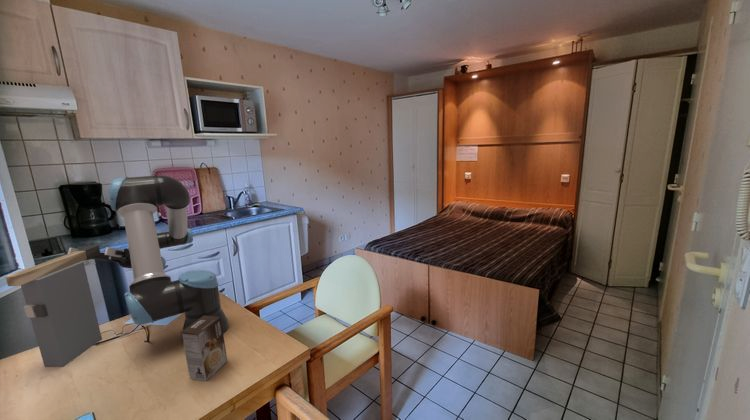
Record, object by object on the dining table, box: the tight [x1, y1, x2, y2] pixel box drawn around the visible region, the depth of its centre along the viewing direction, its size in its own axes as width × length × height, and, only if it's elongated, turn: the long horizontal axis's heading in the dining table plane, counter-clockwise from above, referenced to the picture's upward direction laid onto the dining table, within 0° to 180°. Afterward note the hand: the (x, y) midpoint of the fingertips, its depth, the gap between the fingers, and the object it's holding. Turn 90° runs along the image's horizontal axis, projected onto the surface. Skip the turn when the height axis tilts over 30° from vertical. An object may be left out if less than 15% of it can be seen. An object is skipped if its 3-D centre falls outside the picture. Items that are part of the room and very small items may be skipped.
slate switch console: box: [20, 261, 103, 368], centre depth 100 cm, size 6×15×30 cm, turn 179°
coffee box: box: [180, 315, 228, 382], centre depth 93 cm, size 9×6×16 cm
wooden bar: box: [5, 244, 102, 287], centre depth 99 cm, size 3×26×3 cm, turn 179°
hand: (87, 251), depth 109 cm, fingers open, 13 cm apart
